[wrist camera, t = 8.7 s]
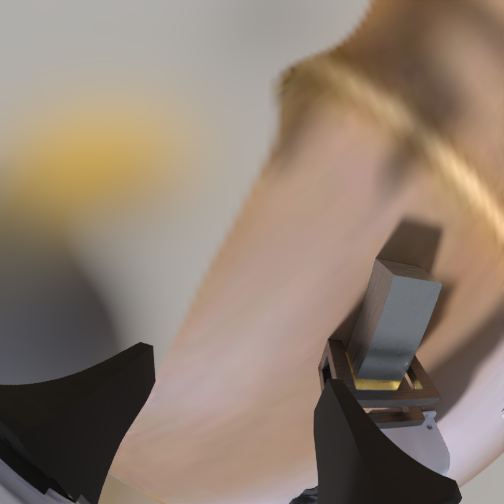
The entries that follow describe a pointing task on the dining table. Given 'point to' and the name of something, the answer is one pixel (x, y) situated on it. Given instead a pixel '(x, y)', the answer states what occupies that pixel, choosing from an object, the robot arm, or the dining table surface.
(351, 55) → the dining table surface
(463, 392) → the dining table surface
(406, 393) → the collar frame
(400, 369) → the grey rectangular block
